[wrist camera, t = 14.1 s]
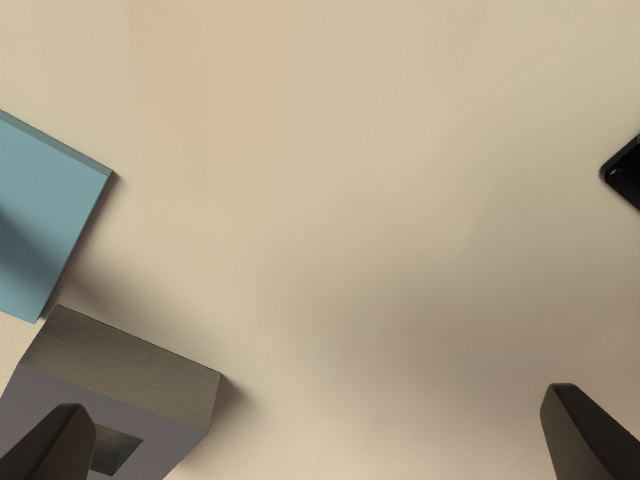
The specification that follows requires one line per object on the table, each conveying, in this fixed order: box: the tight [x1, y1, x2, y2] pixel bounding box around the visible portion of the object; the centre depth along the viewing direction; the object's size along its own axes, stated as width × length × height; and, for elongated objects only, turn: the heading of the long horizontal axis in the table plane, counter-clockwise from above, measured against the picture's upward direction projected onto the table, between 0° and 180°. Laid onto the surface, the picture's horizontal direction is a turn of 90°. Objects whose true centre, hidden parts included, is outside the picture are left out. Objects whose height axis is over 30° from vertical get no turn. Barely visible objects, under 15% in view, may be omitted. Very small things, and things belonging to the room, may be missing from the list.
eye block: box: [0, 304, 221, 480], centre depth 28 cm, size 10×10×4 cm
